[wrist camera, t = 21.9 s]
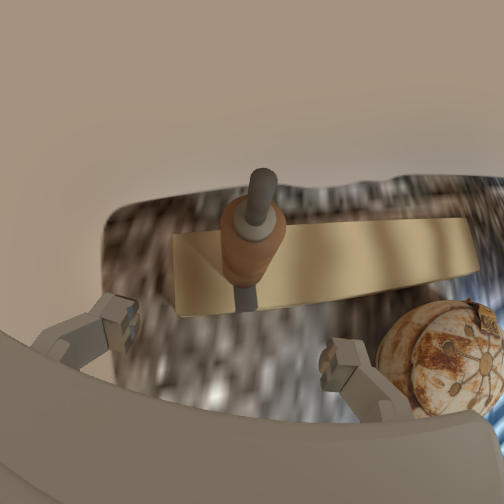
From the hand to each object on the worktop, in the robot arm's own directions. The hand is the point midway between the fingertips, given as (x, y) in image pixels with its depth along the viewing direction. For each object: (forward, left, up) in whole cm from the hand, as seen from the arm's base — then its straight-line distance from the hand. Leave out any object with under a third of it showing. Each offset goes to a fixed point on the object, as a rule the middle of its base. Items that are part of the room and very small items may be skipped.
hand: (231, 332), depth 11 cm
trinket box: (-19, +7, -11) cm, 23 cm away
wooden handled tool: (-1, -5, -8) cm, 9 cm away
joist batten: (-11, -5, -10) cm, 16 cm away
